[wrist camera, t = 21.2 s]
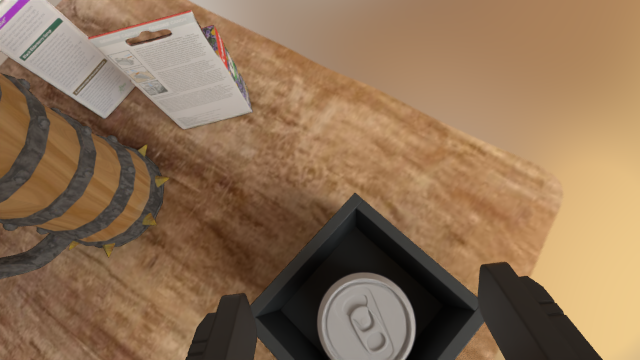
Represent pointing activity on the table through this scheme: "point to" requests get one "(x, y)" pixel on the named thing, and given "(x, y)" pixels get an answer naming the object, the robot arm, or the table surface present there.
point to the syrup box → (61, 54)
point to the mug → (68, 181)
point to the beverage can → (366, 319)
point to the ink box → (180, 69)
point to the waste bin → (374, 256)
